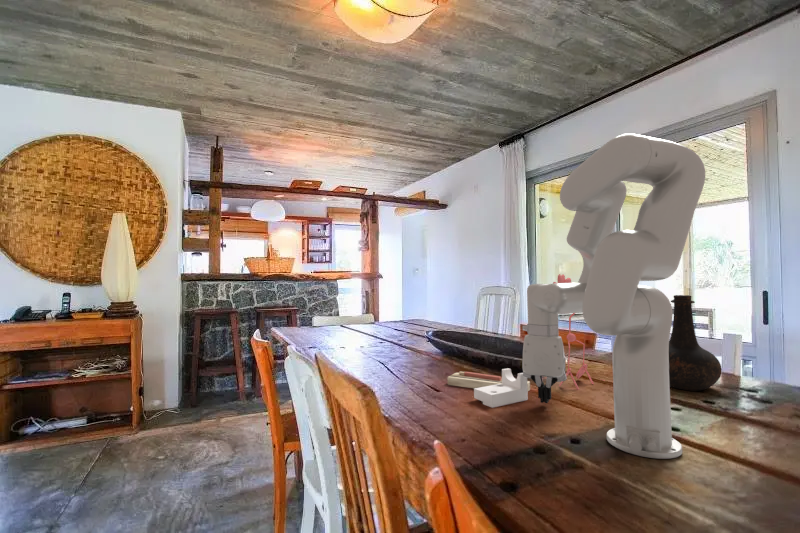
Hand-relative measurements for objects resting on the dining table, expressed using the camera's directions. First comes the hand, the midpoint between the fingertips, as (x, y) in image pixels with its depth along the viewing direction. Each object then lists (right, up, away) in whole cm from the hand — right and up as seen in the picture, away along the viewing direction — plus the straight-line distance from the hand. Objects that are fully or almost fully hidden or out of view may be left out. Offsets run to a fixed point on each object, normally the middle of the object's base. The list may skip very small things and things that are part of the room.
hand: (544, 401), depth 99 cm
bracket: (-10, -2, +6) cm, 12 cm away
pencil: (-12, 0, +21) cm, 24 cm away
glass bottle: (+49, -2, +17) cm, 52 cm away
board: (-10, -2, +19) cm, 22 cm away
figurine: (+15, -2, +23) cm, 28 cm away
